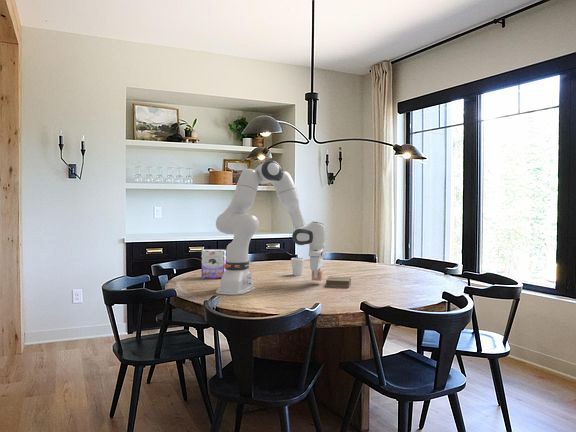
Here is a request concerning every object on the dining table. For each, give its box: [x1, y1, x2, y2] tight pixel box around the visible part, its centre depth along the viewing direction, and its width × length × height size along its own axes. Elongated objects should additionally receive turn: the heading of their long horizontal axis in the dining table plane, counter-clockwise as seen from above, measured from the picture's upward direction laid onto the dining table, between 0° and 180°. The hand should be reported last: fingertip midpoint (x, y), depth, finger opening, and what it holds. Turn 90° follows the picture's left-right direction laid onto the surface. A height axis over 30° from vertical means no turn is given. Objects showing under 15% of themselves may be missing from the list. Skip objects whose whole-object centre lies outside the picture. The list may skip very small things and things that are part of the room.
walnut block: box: [325, 275, 352, 289], centre depth 252 cm, size 12×12×4 cm
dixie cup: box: [290, 257, 305, 277], centre depth 284 cm, size 8×8×10 cm
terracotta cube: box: [311, 269, 323, 282], centre depth 255 cm, size 5×5×5 cm
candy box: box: [200, 249, 227, 279], centre depth 274 cm, size 14×6×16 cm, turn 84°
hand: (317, 276), depth 255 cm, fingers closed on terracotta cube, 5 cm apart
